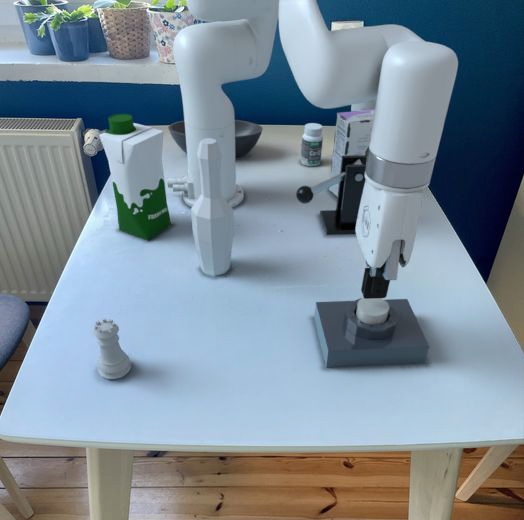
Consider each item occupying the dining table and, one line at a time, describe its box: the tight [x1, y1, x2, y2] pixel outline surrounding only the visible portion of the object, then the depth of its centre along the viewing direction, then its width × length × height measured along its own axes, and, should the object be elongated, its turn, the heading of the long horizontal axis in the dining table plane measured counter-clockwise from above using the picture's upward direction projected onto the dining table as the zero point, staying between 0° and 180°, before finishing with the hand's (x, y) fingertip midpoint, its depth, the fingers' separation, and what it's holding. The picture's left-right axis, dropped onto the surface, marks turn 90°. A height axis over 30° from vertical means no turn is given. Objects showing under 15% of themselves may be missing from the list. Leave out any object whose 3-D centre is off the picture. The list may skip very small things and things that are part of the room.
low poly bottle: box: [190, 138, 235, 277], centre depth 85 cm, size 6×6×22 cm
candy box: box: [328, 109, 375, 199], centre depth 110 cm, size 14×6×16 cm, turn 108°
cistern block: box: [313, 297, 430, 369], centre depth 78 cm, size 14×11×5 cm
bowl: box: [167, 119, 264, 160], centre depth 128 cm, size 12×22×6 cm, turn 88°
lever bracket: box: [319, 155, 367, 236], centre depth 100 cm, size 10×8×13 cm
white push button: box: [356, 297, 389, 325], centre depth 76 cm, size 4×4×2 cm
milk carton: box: [98, 113, 172, 241], centre depth 96 cm, size 9×9×20 cm
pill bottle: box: [300, 122, 324, 167], centre depth 124 cm, size 5×5×8 cm
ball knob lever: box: [295, 159, 362, 205], centre depth 99 cm, size 13×3×3 cm, turn 94°
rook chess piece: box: [92, 317, 132, 381], centre depth 71 cm, size 4×4×8 cm
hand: (373, 294), depth 74 cm, fingers closed
